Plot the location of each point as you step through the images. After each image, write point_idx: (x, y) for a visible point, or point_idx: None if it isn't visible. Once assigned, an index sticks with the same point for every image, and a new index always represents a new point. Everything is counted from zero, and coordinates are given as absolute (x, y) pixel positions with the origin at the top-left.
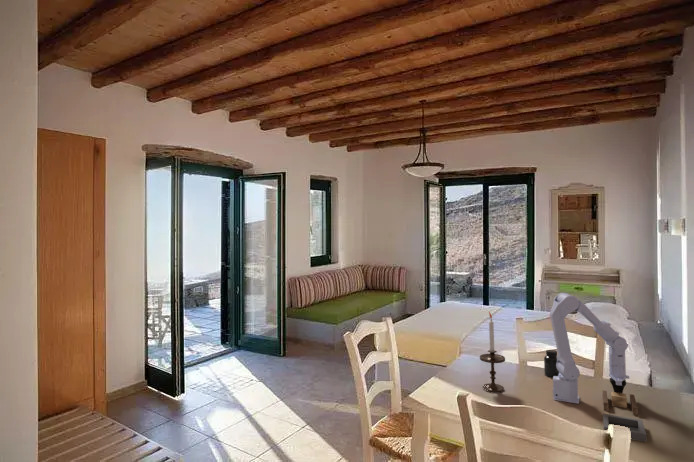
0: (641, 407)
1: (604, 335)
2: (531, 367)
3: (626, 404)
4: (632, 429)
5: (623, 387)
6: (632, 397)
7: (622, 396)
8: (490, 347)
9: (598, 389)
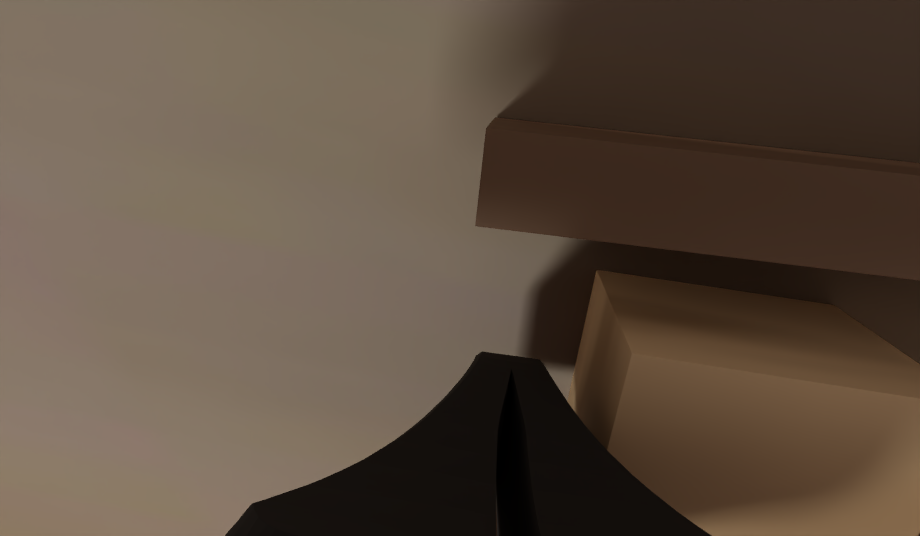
0: (760, 33)
1: None
2: None
3: (870, 335)
4: None
5: (685, 529)
6: (708, 208)
7: (858, 467)
8: None
9: (125, 520)
